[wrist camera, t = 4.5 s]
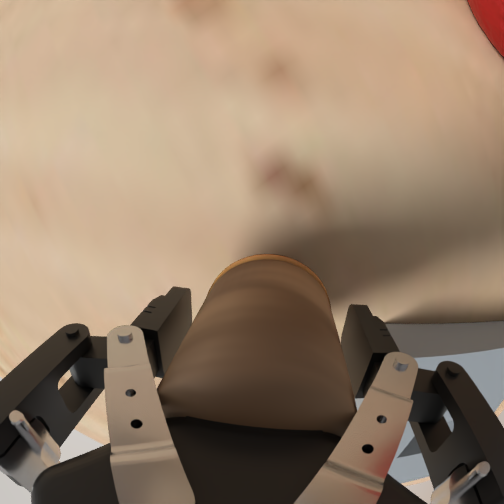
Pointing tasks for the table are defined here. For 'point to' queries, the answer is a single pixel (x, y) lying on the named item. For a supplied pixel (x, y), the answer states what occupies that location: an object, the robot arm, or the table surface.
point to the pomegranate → (490, 20)
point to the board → (456, 350)
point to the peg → (262, 353)
